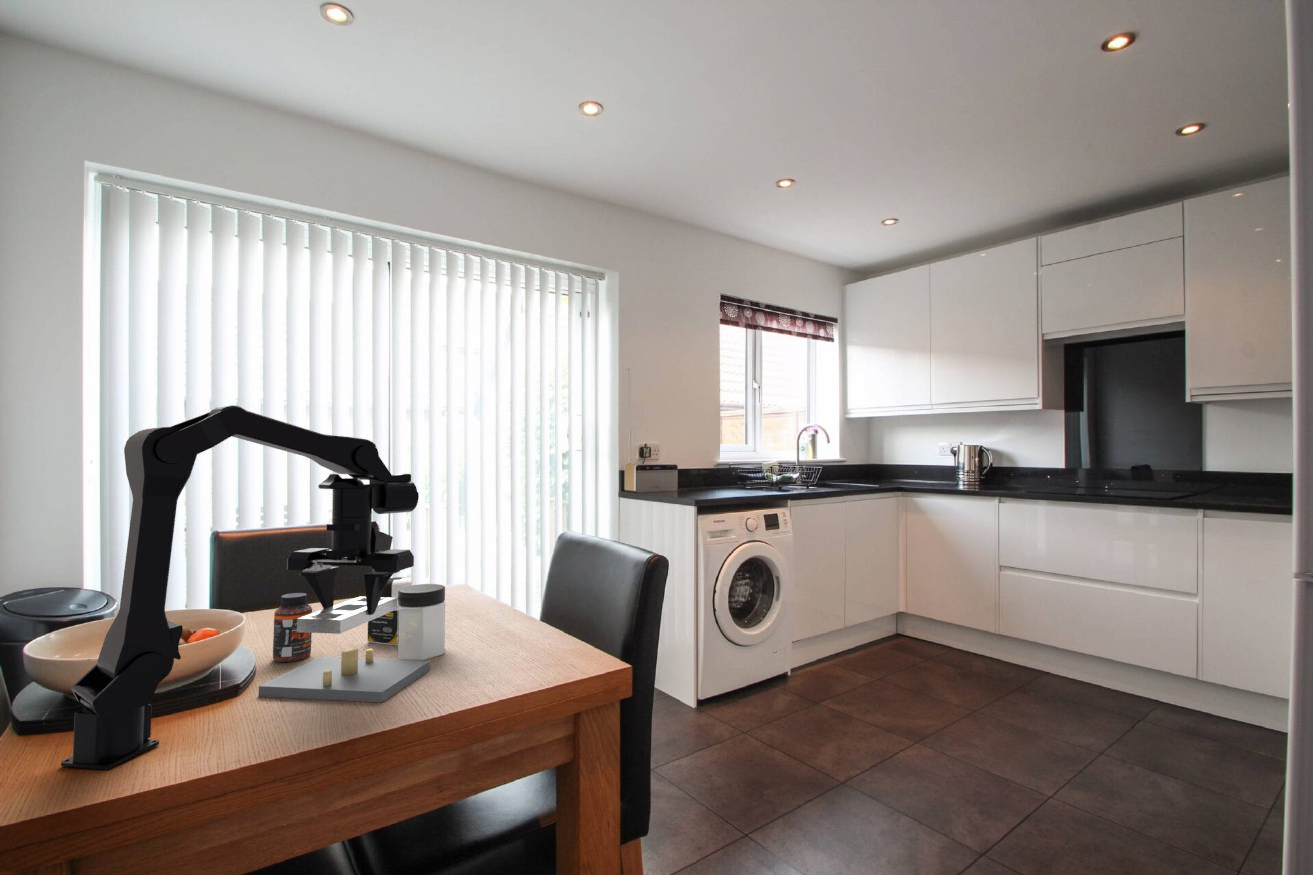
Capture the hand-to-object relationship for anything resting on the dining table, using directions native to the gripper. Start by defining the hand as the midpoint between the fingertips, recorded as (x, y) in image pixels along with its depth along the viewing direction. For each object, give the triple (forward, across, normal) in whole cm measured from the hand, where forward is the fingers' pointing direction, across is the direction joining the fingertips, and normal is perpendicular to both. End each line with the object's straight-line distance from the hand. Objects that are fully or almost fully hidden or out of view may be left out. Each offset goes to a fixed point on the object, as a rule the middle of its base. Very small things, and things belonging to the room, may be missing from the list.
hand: (350, 613), depth 97 cm
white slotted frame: (+1, 0, 0) cm, 1 cm away
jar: (+11, -4, -15) cm, 19 cm away
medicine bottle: (+11, +6, -23) cm, 26 cm away
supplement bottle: (+11, +18, -10) cm, 23 cm away
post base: (+11, 0, 0) cm, 11 cm away
